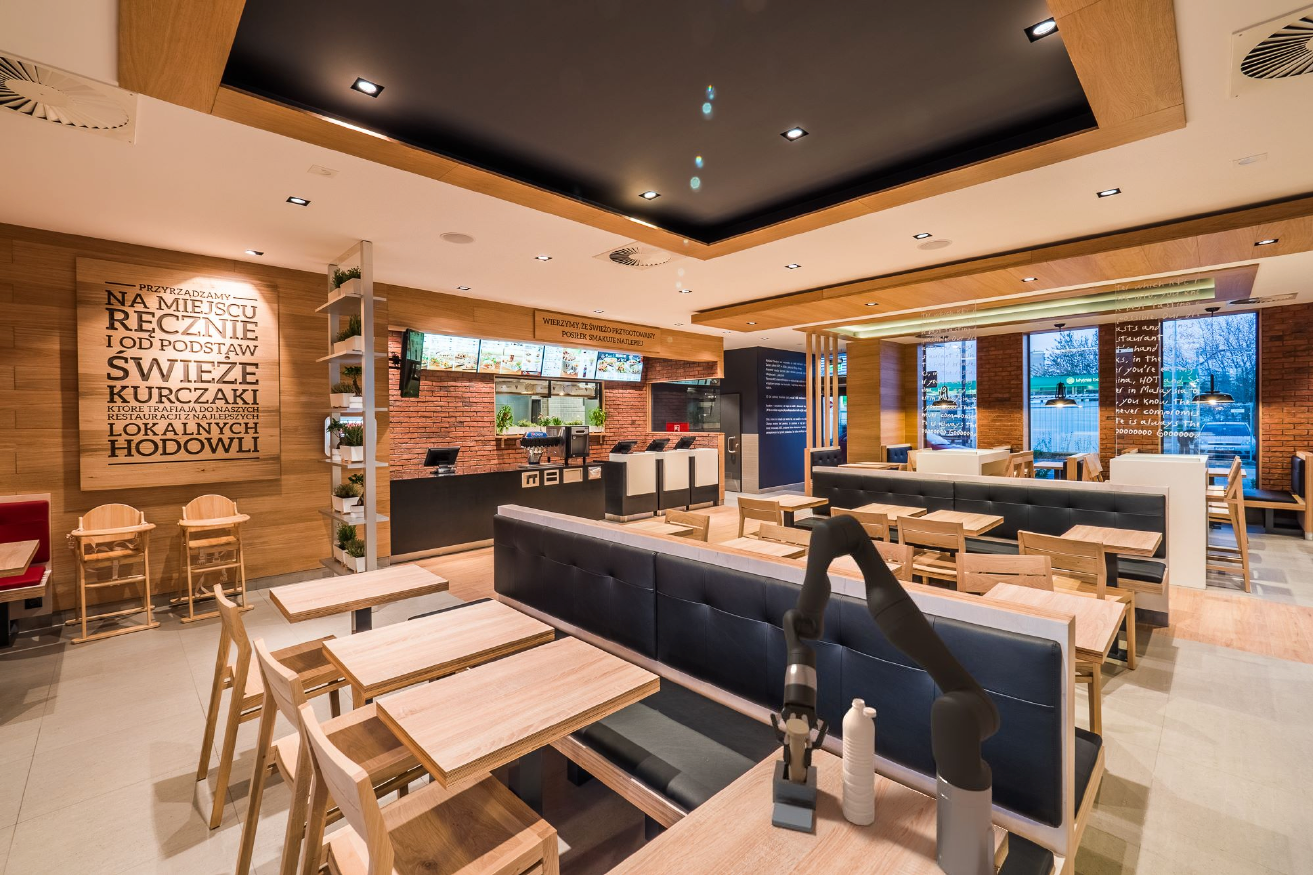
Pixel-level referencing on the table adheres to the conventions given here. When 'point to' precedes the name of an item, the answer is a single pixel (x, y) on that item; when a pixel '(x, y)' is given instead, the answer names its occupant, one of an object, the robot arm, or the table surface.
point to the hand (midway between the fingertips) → (797, 765)
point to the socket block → (794, 787)
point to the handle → (797, 749)
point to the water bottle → (858, 764)
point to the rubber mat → (792, 817)
